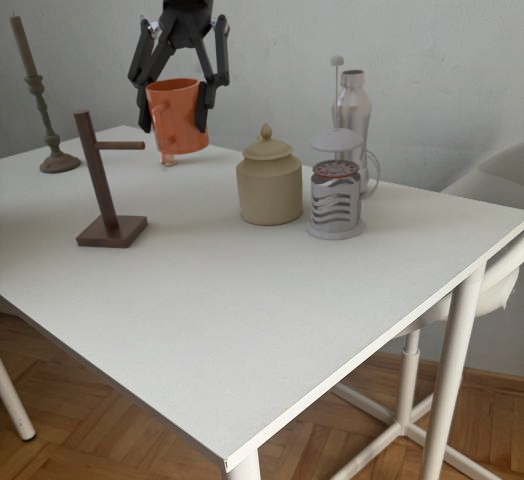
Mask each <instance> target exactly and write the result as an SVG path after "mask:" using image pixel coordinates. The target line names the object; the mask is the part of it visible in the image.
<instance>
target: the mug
mask: <svg viewBox="0 0 524 480" xmlns="http://www.w3.org/2000/svg"><path fill="white" fill-rule="evenodd" d="M200 81H202V80H201V79H199V78H196V77H174V78H173V77H172V78H165V79H161V80H157V81H156V82H153V83H150V84H149V85H147V86H146V94H147V99H148V104H149V109H150V115H151V120H152V124H151V126H152V130H153V135H154V139H155V145H156V148H157V152H159V153H160V152H161V153H163V154H168V155H173V156H180V155H181V156H182V155H188V154H194V153H197V152H199V151H202V150H204V149H206V148H207V147H208V146H209V145H210V137H209V130H208V122H207V123H206V131H205V133H200V131H199V130H198V128H197V127H196V125H195V124H194V123H195V115H196V107H197V99H198V91H199V83H200Z"/></svg>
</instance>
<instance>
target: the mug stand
mask: <svg viewBox="0 0 524 480" xmlns="http://www.w3.org/2000/svg"><path fill="white" fill-rule="evenodd" d="M72 117H73V119H74V124H75V127H76V131H77V135H78V137H79V141H80V144H81V148H82V151H83V156H84V159H85V162H86V167H87V169H88V173H89V177H90V180H91V183H92V187H93V191H94V195H95V199H96V203H97V205H98V208H99V212H100V214H99V215H98V216H97V217H96V218H95V219H94V220H93V221H92V222H91V223H90V224H89V225H88V226H86V227H85V228H84V229H83V230H82V231H81V232H80V233H79V234H78V235H77V236H76V237H75V240H76V243H77V247H96V248H97V247H98V248H116V249H117V248H118V249H127V248H129V246H130V245H131V244H132V243H133V242H134V241H135V240H136V239H137V238H138V237H139V235H140V234H141V233H142V232H143V231H144V230H145V228H146V227H148V225H149V221H148V216H147V215H123V214H122V215H121V214H117V212H116V208H115V205H114V201H113V197H112V193H111V189H110V185H109V181H108V178H107V174H106V170H105V166H104V162H103V159H102V155H101V151H144V150H145V149H146V143H145V142H144V141H143V140H142V141H141V140H138V141H136V140H135V141H134V140H133V141H131V140H130V141H127V140H126V141H125V140H123V141H122V140H121V141H117V140H115V141H109V140H108V141H101V140H100V141H98V139H97V136H96V132H95V128H94V124H93V119H92V116H91V111H90V109H87V108H81V109H76V110H74V111H72Z"/></svg>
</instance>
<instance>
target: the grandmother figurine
mask: <svg viewBox="0 0 524 480" xmlns="http://www.w3.org/2000/svg"><path fill="white" fill-rule="evenodd" d="M174 156H175V155H168V154H163V153H161V152H159V161H160V163H161V164H163V165H164V167H172V166H175V165H177V164H178V163H177V161H176V160H175V157H174Z"/></svg>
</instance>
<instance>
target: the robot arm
mask: <svg viewBox="0 0 524 480" xmlns="http://www.w3.org/2000/svg"><path fill="white" fill-rule="evenodd" d="M213 9H214V0H162V11H161V14H160V16H159V17H158V20H155V21H149V20H148V19H147V18H143V19H142V20H141V21H140V34H139V38H138V41H137V44H136V48H135V51H134V53H133V56H132V60H131V62H130V66H129V69H128V73H127V76H126V77H127V79H128V81H129V83H131V85H132V86H133V87H134V88H135V89H137V94H136V101H135V104H136V106H137V107H138V109H139V114H138V121H137V125H138V126H139V127H140V128H141V130H142V131H143V132H144V133H145V134H151V131H152V120H151V115H150V109H149V104H148V99H147V94H146V86H147V85H149V84H150V83H153V82H156V81H158V80H159V77H160V75H161V74H162V72H163V70H164V68H165V67H166V65H167V64H168V61H169V60H170V58H171V57H172V56H174V55H175V54H176V52H177V50H181V49H185V48H187V49H194V50H195V53H196V55H197V58H198V61H199V65H200V67H201V70H202V73H203V78H204V79H205V80H201V81H200V83H199V91H198V99H197V107H196V115H195V123H194V124H195V125H196V127H197V128H198V130H199V131H200V133H205V131H206V123H207V124H208V115H209V114H208V113H209V110H214V107H215V104H216V96H217V90H218V88H220V87H222V86H223V87H228V86H229V85H230V83H231V78H230V65H229V64H230V62H229V50H228V37H229V34H230V31H231V27H230V25H229V22H228V19H227V17H226V15H225V14H223V13H221V14H219V15H218V17H212V16H213ZM211 30H212V31H213V33H214V43H215V58H216V59H215V61H216V73H214V69H213V67H212V64H211V61H210V58H209V54H208V52H207V48H206V45H205V43H204V39H205V37H206V36H207V35H208V34H209V33H210V32H211ZM159 32H161V33H160V34H159ZM158 34H159V36H158ZM156 40H158V41H157V44H156V46H155V43H156V42H155V41H156Z"/></svg>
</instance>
